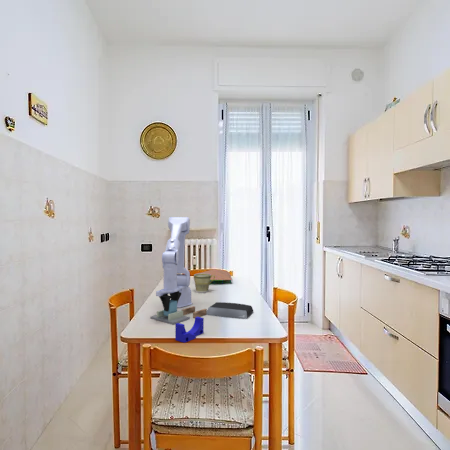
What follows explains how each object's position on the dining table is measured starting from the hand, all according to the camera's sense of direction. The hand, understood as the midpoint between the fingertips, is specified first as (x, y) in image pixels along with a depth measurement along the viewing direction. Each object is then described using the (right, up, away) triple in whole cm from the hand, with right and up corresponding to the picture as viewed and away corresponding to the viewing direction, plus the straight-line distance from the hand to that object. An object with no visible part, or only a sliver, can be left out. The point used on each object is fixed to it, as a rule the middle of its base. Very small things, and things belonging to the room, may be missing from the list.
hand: (170, 310), depth 154 cm
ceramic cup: (+12, -3, +55) cm, 57 cm away
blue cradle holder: (+11, -5, -22) cm, 26 cm away
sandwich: (+16, -2, +92) cm, 93 cm away
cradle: (+10, -4, +6) cm, 12 cm away
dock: (0, -4, 0) cm, 4 cm away
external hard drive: (+26, -5, +9) cm, 28 cm away
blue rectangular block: (0, -2, 0) cm, 2 cm away
